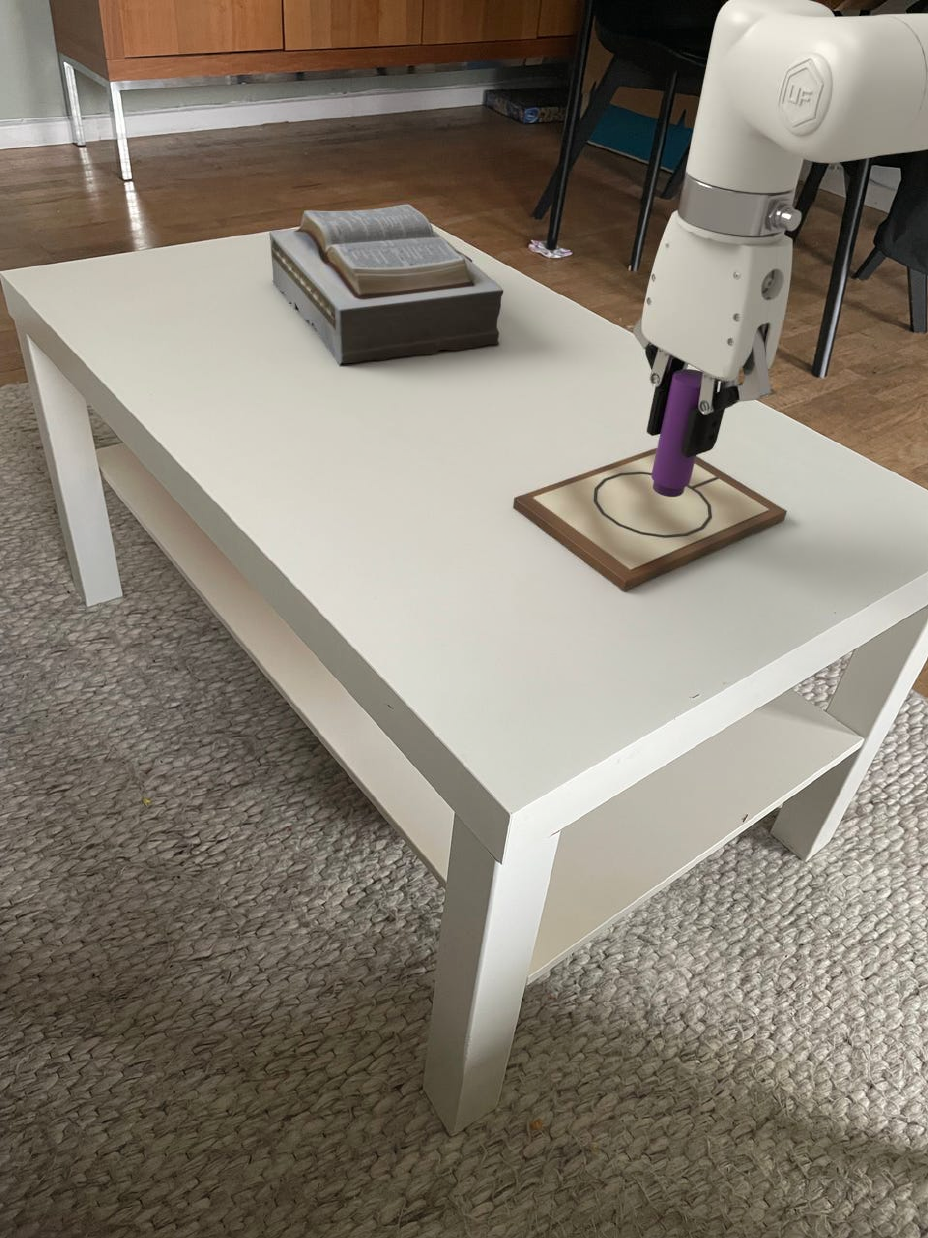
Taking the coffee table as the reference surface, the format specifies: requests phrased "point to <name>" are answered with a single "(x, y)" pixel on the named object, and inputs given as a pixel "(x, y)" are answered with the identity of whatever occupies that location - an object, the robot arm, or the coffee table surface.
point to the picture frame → (646, 517)
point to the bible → (383, 284)
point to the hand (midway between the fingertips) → (679, 439)
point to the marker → (676, 435)
